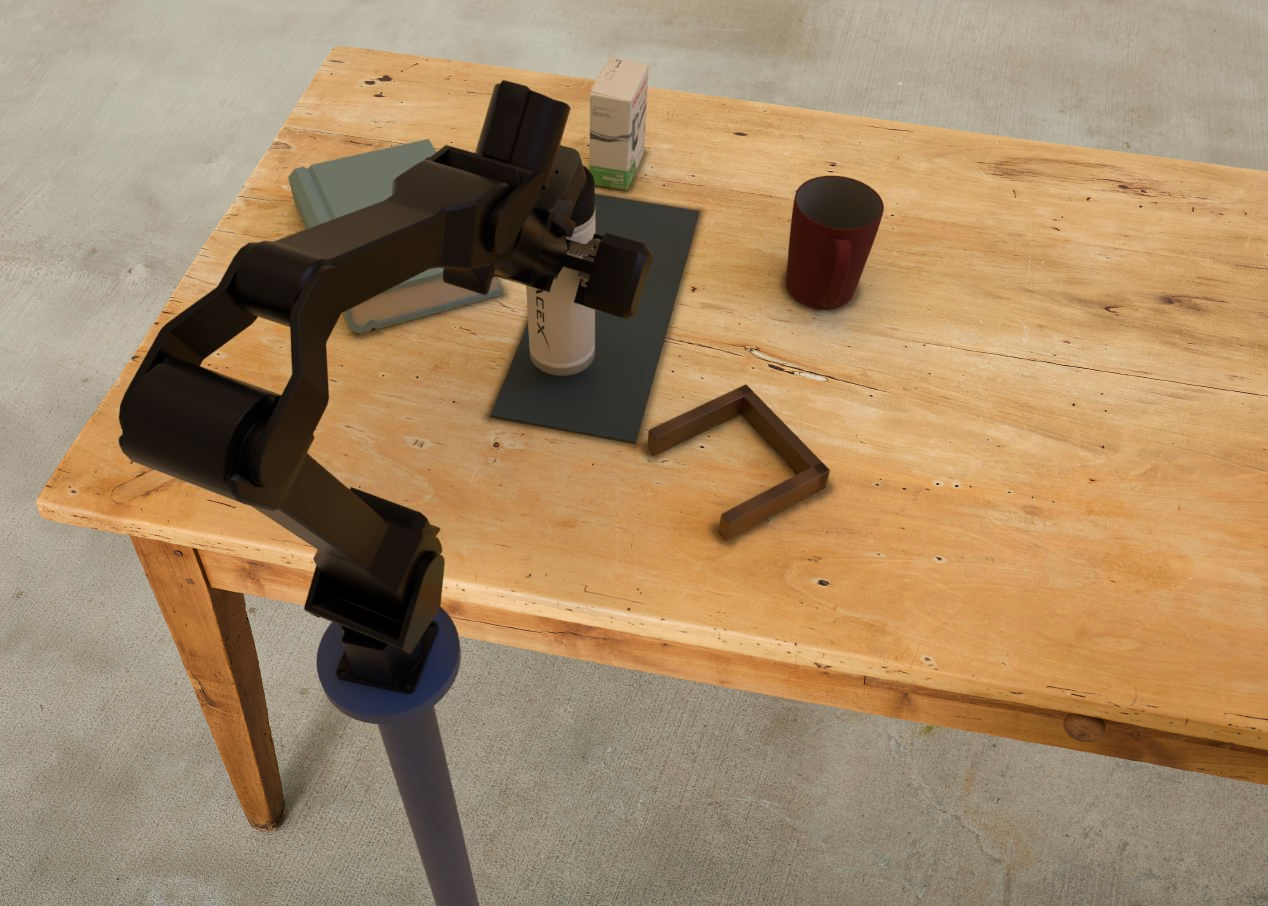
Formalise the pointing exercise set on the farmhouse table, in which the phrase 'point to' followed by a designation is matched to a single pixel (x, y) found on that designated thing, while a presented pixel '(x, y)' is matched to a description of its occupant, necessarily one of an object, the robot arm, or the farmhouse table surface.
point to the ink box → (617, 122)
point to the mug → (830, 239)
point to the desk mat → (610, 337)
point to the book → (362, 185)
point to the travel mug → (565, 305)
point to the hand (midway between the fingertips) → (566, 267)
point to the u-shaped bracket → (772, 430)
